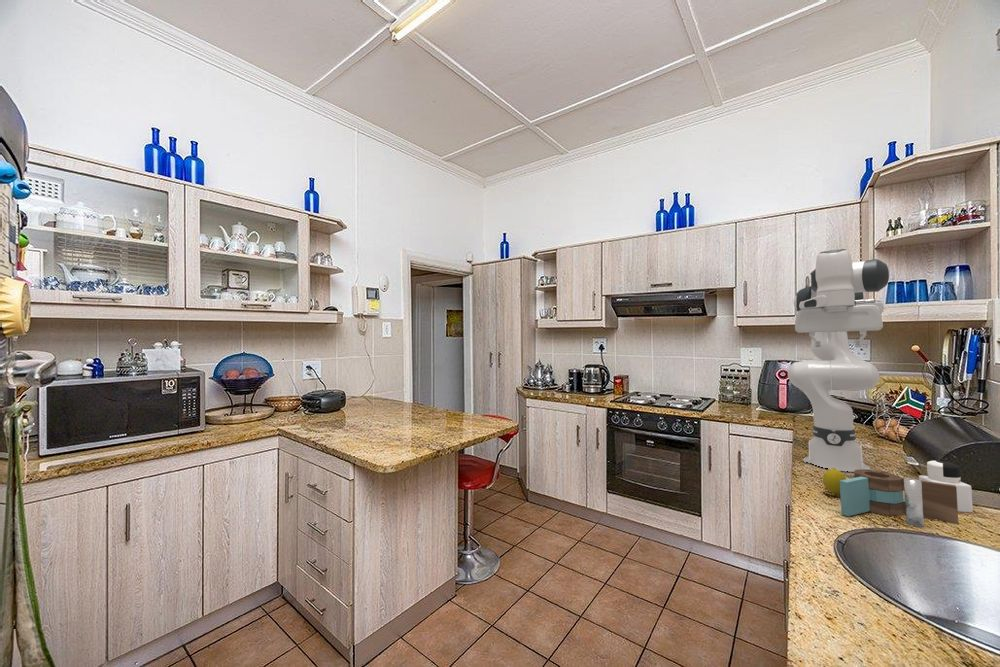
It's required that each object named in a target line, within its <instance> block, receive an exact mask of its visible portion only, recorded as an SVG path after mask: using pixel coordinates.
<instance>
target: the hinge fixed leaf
mask: <svg viewBox="0 0 1000 667" xmlns="http://www.w3.org/2000/svg"><path fill="white" fill-rule="evenodd" d="M861 476H862V477H866V478H868V483H869V488H870V489H876V490H882V491H889V492H891V491H902V490H903V493H905V490H904V478H905V477H902V476H901V477H900V475H897V474H894V473H889V472H886V471H880V470H873V469H871V470H868V469H862V470H855V472H854V478H856V477H861ZM920 481H921V483H922V501H923V518H924V519H929V518H930V519H931V520H934V519H937V520H936V521H940V520H942V521H941V522H945V521H947V523H951V522H952V523H953V524H956V523H957V525H958V524H959V511H958V506H957V489H956V486H955V485H950V484H943V483H936V482H929V481H923V480H920ZM903 501H904V502H901V503H897V504H892V503H883V502H876V501H872V500H869V502H870V513H874V514H879V515H884V514H885V515H884V516H890V517H891V516H904V515H906V508H905V500H903Z"/></svg>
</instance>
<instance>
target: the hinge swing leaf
mask: <svg viewBox="0 0 1000 667" xmlns="http://www.w3.org/2000/svg"><path fill="white" fill-rule="evenodd" d="M869 500H872V501H876V502H883V503H892V504H897V503H901V502H904V501H905V500H904V490H902V491H891V492H889V491H882V490H876V489H870V488H869V483H868V478H866V477H862V476H861V477H856V478H855V477H852V478H851V477H850V478H846V480H840V514H841V515H843V516H846V517H851V516H855V515H859V514H863V513H869V511H870V502H869Z"/></svg>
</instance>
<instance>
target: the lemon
mask: <svg viewBox="0 0 1000 667" xmlns="http://www.w3.org/2000/svg"><path fill="white" fill-rule="evenodd" d="M846 479H847V478H846V475H845V474H844V473H843V471H839V470H837V469H835V468H832V469H827V470H826V471H825V472H823V475H822V483H823V486H824V488H825V489H826V490H827V491H829V493H831V494H833V495H834V496H838V495H839V494H840V480H846Z"/></svg>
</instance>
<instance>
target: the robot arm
mask: <svg viewBox="0 0 1000 667" xmlns="http://www.w3.org/2000/svg"><path fill="white" fill-rule="evenodd" d="M852 261H853V260H852V257H851V253H850V250H849V249H846V248H841V249H831V250H825V251H820V252H818V254H817V256H816V261H815V269H813V270H812V271H811V272H810V286H808V284H806V285H805V287H804V288H801V289H799V290H798V291H797V292H796V294H795V296H794V299H793V306H794V308H795V310H796V312H797V313H796V316H795V321H794V331H795V332H796V333H798V334H801V333H802V334H803V333H804V334H805V333H807V334H809V337H810V339H811V340H810V341H811V353H812V354H813V355H814V356H815V357H816V358H818V359H819V360H815V359H813V360H809V359H808V360H802V361H795V362H793V363H792V364H791V365H790V366H789V368H788V370H787V377H788V381H789V382H790V383H791V384H792V385H793V386H794V387H795V388H797V389H798V390H800V391H801V392H802V393H803V394H805V396H806V397H807V398H808V400H809V403H810V405H811V406H812V407H811V408H812V413H813V422H814V423H813V425H812V435H813V436H812V438H810V440H808V445H807V446H808V456H806V457H803V459H802V462H803V461H804V463H806V462H808V463H807V464H810V463H812V464H814V465H813V466H815V465H817V466H816V467H818V466H820V467H819V468H821V467H823V468H822V469H825V468H828V469H827V470H829V469H832V468H835V469H837V470H839V471H840V472H847V471H848V472H849V473H851V472H853V473H855V470H862V469H868V470H872V469H871V468H870V466H868V465H867V464H866V463H864V456H863V448H862V446H861V445H860V444H859V443H858V442H857V441H856V439H857V438H856V437H857V434H856V430H855V427H854V411H853V408H852V407H851V406H850V404H848V403H847V402H844V401H842V400H840V399H838V398H835V397H833V396H832V395H831V394H830V393H829V392H831V391H848V392H858V391H867V390H868V391H869V390H873V389H875V387H877V385H878V383H879V382H880V373H879V370H878V369H877V367H876V366H875V365H874V364H872V363H871V362H868V361H867V360H863V359H862V358H860V357H858V356H857V355H855V354H854V352H852V350H851V348H850V346H849V339H848V332H859V335H861V337H860V338H858V340H855V341H854V344H855V345H854V346H855V347H863V340H864V339H865V338H866V336H867V334H868V333H867V332H869V331H873V332H874V331H881V330H882V329H883V327H884V323H883V317H882V313H883V312H884V304H883V302H882V301H881V300H877V299H876V298H870V299H867V295H866V294H865V293H874V292H875V293H877V292H880V291H881V290H883V289H884V288H885V287H886V286H888V283H889V280H890V275H891V274H890V270H889V267H888V265H887V263H886V262H884V261H882V260H880V259H878V258H874V259H868V260H862V261H861V260H860V261H853V262H852ZM812 464H811V465H812Z"/></svg>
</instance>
